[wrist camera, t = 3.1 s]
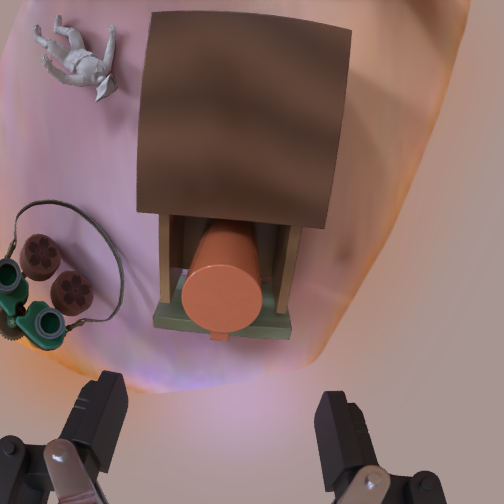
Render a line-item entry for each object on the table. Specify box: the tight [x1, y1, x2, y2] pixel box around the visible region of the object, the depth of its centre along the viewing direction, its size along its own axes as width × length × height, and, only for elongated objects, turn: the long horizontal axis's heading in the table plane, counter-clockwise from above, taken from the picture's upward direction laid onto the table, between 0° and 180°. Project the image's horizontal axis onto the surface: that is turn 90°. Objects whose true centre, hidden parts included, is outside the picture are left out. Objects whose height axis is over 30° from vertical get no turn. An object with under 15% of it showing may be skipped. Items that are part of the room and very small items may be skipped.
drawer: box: [153, 214, 302, 340], centre depth 26 cm, size 14×11×7 cm
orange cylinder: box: [181, 218, 263, 341], centre depth 24 cm, size 5×6×11 cm
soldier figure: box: [33, 15, 118, 102], centre depth 21 cm, size 8×5×12 cm
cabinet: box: [137, 11, 352, 229], centre depth 22 cm, size 14×13×9 cm
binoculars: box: [0, 200, 124, 351], centre depth 25 cm, size 14×14×15 cm
